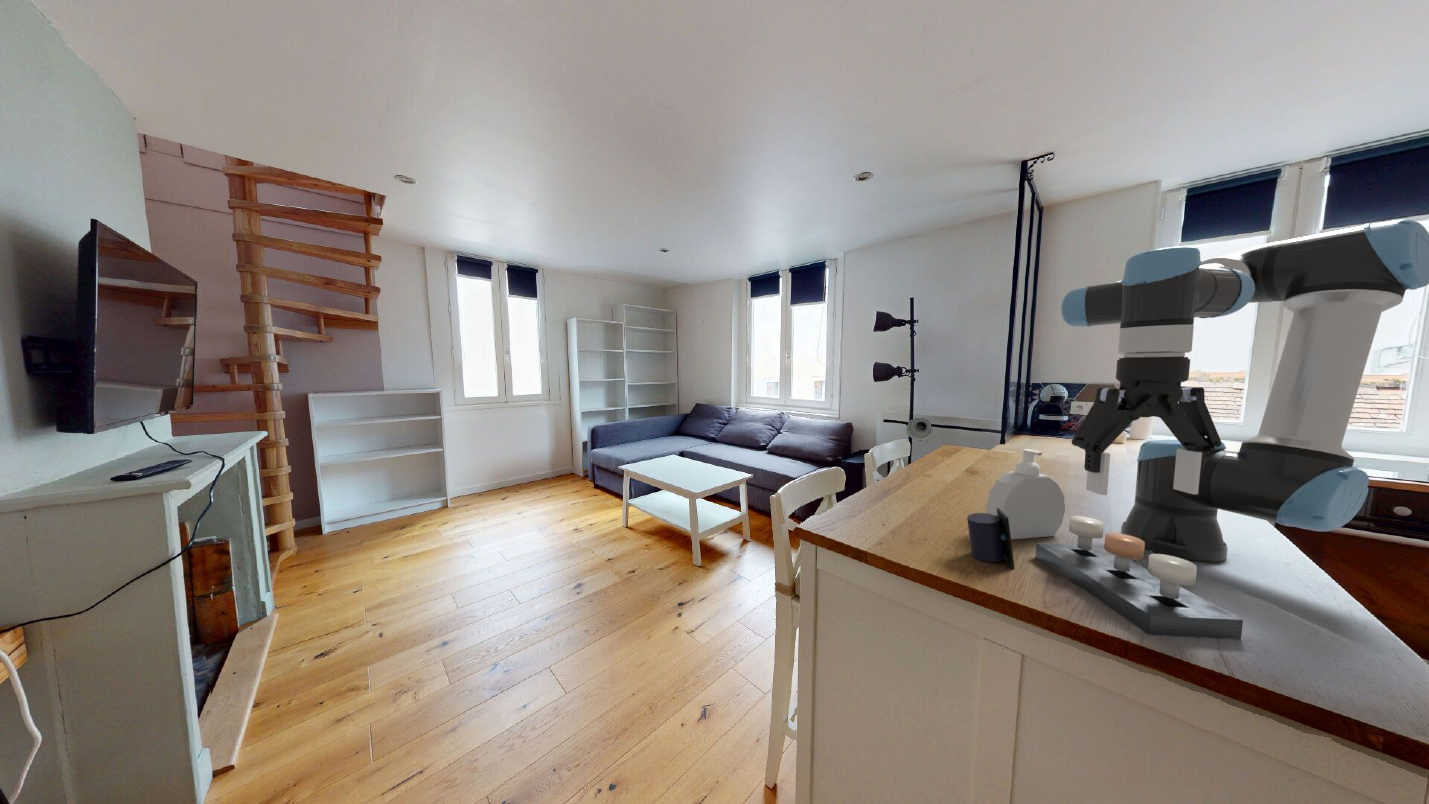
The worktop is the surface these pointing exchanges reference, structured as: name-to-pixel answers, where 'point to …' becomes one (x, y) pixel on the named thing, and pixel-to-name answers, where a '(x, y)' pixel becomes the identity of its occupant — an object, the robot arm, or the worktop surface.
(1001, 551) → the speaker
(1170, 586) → the knob
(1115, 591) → the mount
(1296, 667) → the worktop surface
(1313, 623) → the worktop surface
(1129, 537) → the knob middle
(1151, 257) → the robot arm
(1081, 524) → the knob
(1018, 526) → the soap bottle
